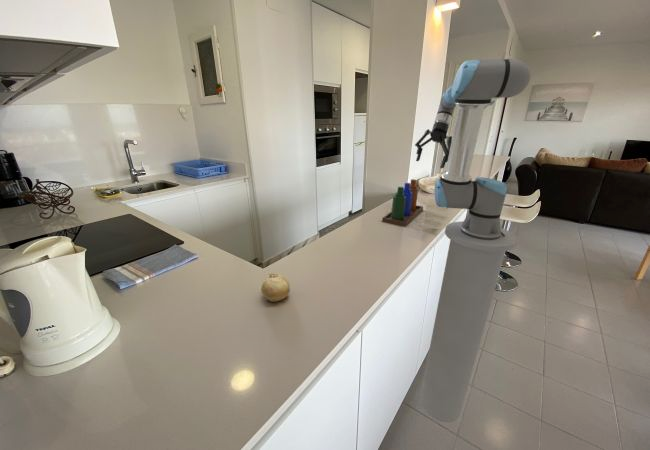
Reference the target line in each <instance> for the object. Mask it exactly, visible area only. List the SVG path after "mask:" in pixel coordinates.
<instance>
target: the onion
mask: <svg viewBox="0 0 650 450" xmlns="http://www.w3.org/2000/svg"><path fill="white" fill-rule="evenodd" d="M267 274H268V275H269V276H268V277H267V278H266V279H265V280H264V281H263V282H262V284H261V289H260V291H261V294H262V296H263V297H264V298H265V299H266V300H267V301H269V302H271V303H275V302H280V301H282V300H284V299H285V298H287V297H288V295H289V294H290V290H291V288H290V287H291V286H290V282H289V281H288V280H287V278H286V277H284V276H282V275H280V274H278V273H275V272H272V273H267Z"/></svg>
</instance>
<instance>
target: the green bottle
mask: <svg viewBox="0 0 650 450" xmlns="http://www.w3.org/2000/svg"><path fill="white" fill-rule="evenodd" d="M403 188H404V186H398V187H397V191H396V192H395V194H394V195H392V205H391V211H392V213H391V219H394V220H399V221H403V219H404V211H405V202H406V196H404V193H403Z"/></svg>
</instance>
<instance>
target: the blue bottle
mask: <svg viewBox="0 0 650 450" xmlns="http://www.w3.org/2000/svg"><path fill="white" fill-rule="evenodd" d="M410 184H411V182H404V186H403V193H404V196H406V202H405V211H404V216H409V215H410V209H411V201H412V194H413V192H411V189H410Z"/></svg>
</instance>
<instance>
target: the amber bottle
mask: <svg viewBox="0 0 650 450" xmlns="http://www.w3.org/2000/svg"><path fill="white" fill-rule="evenodd" d="M410 189H411V192H413V194H412V201H411V209H410V211H415V210H416V205H417V202H418V193H419V187H418V186H417V179H414V178H413V179H410Z"/></svg>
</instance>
